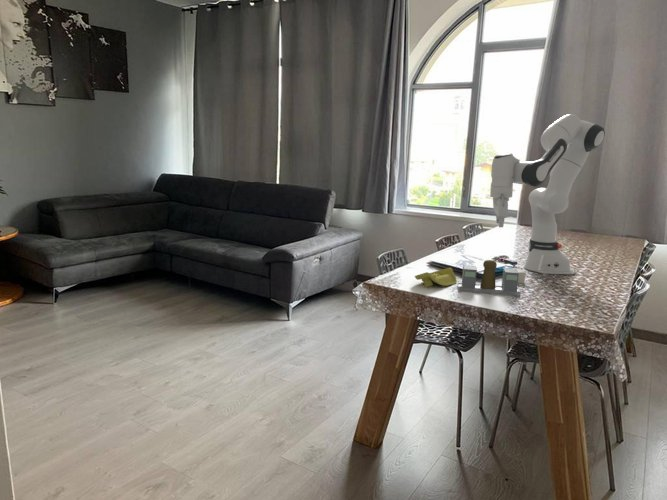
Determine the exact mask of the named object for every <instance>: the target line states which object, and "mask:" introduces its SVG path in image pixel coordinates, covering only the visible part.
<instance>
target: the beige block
mask: <svg viewBox="0 0 667 500" xmlns="http://www.w3.org/2000/svg"><path fill="white" fill-rule="evenodd" d="M516 269H517V268H516ZM517 271H518V272H519V276H518V284H525V280H526V272H525V271H524V270H523V269H517Z"/></svg>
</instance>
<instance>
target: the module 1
mask: <svg viewBox="0 0 667 500" xmlns="http://www.w3.org/2000/svg"><path fill="white" fill-rule="evenodd" d="M477 272H478V269H477V266H476V265H469V264H468V265H467V264H463V266H462V276H461V282H462V288H468V289H475V285H476V284H477Z"/></svg>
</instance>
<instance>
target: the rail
mask: <svg viewBox="0 0 667 500" xmlns="http://www.w3.org/2000/svg"><path fill="white" fill-rule="evenodd" d="M480 285H481V283H476V285H475V289H468V288H462V281H460V282H459V281H457V290H458V291H457V292H461V293H462V292H465V293H475V294H476V293H477V294H488V295H498V296H500V295H501V296H509V297H511V296H512V297H521V291H520V289H519V286H517V293H516V292H504V290H503V289H502V285H497V284H495V286H496V288H494V289H486V288H482V287H480Z"/></svg>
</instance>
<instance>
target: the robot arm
mask: <svg viewBox="0 0 667 500" xmlns="http://www.w3.org/2000/svg"><path fill="white" fill-rule="evenodd" d="M605 136H606V131H605V128H604V127H603V126H601V125H599V124H598V123H597V124H596V123H593V122H590V121H588V120H583V119H580V117H578V116H577V115H575V114H572V113H568V114H566V115H563V116H562V117H560V118H558V119H557V120H555V121H553V122H552V124H550V125H549V126H548V127H547V128H546V129H545V130H544V131H543V133H542V134H541V135H540V144H541V147H542V149H543V150H545V153H544V154H543V156H542V157H540V159H537V160H533V161H528V160H527V161H526V160H521V159H518V158H516V157H515V156H514V154H513V153H510V152H504V153H499V154H496V155H495V156H494V157H493V160H492V162H491V172H490V174H491V175H490V176H491V183H490V192H489V193H490V194H489V195H490V198H492V203H493V204H492V205H493V206H492V207H493V211H494V213H495V219H496V221H495V223H496V224H498V227H499V228H504V224H505V219H507V218H508V214H509V201H510V198H513V191H514V189H513V187H514V184H518V185H524V186H530V187H538V188H535V189H533V190H532V191H530V193H529V195H528V202H529V204H530V210H531V211H530V213H531V220H532V221H531V223H532V224H531V233H530V234H531V235H530V239H529V242H528V249H527V250H528V253H527V258H526V261H525V263H524V266H523V268H524V269H525V270H528V271H531V272H535V273H539V274H545V275H546V274H547V275H575V273H576V271H575V269H574V268H573V267H571V262H570V258H569V257H568V256H567V255H565V254H564V253H563V252H562V251H561V250H560V249H562V248H563V245H562V244H561V243H559V242H557V241H556V240H557V231H558V223H557V222H556V216H555V215H558V214H561V213H564V212H565V211H566V210H567V209H568V207H569V205H570V201H569V197H570V196H569V195H570V194H571V193H570V192H571V189H572V187H573V185H574V184H573V183H574V182H575V180H576V178H577V177H578V175H579V173H580V172H581V170H582V169H583V167H584V166H585V163H586V161H587V159H588V156H589V154H590V152H591V151H593V150H595V149H597V148H598V147H599V146H600V145H601V144H602V142H604V138H605ZM548 176H549V181H548V184H547V186H546V187H539V186H541V185H542V184H543V183H544V182H545V181H546V179H547V178H548Z"/></svg>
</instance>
